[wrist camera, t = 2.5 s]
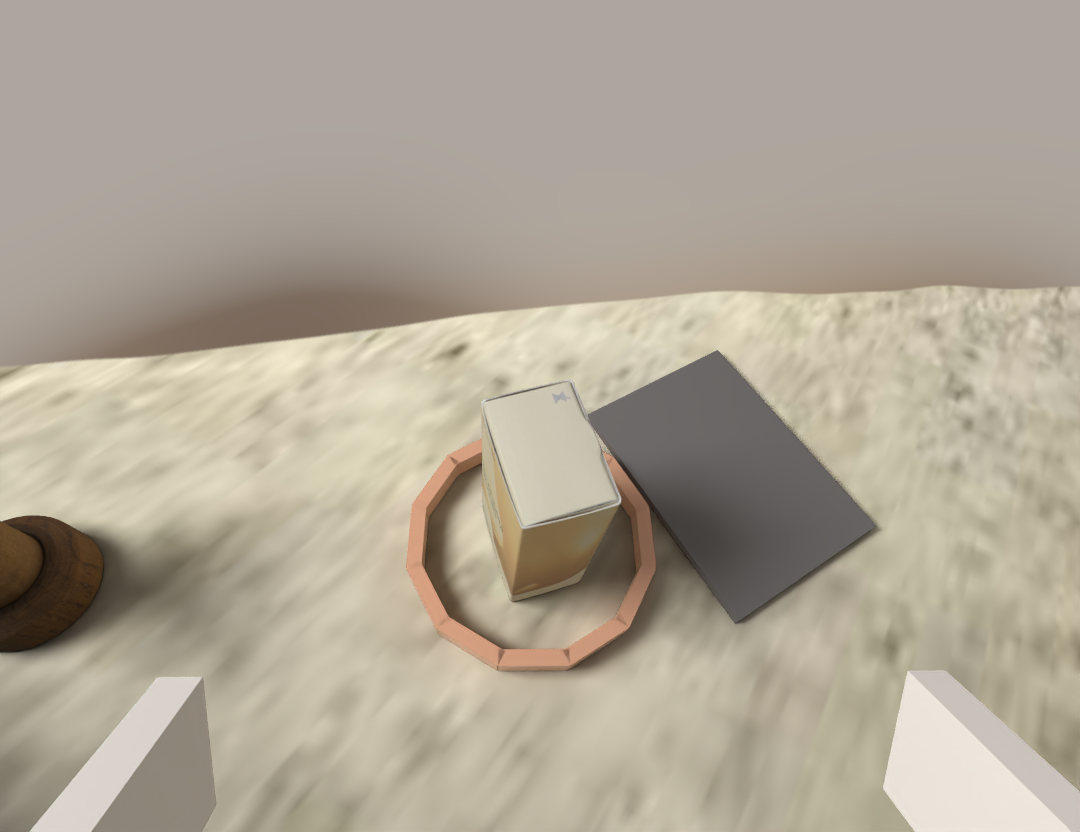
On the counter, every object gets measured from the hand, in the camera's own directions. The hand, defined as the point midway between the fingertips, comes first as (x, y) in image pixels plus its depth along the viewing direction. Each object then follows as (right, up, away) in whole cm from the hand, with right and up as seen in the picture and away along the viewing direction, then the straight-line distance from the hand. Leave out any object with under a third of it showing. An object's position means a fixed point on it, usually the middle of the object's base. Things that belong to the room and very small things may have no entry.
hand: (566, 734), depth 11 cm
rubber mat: (+11, +2, +27) cm, 29 cm away
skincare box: (-1, -2, +24) cm, 24 cm away
